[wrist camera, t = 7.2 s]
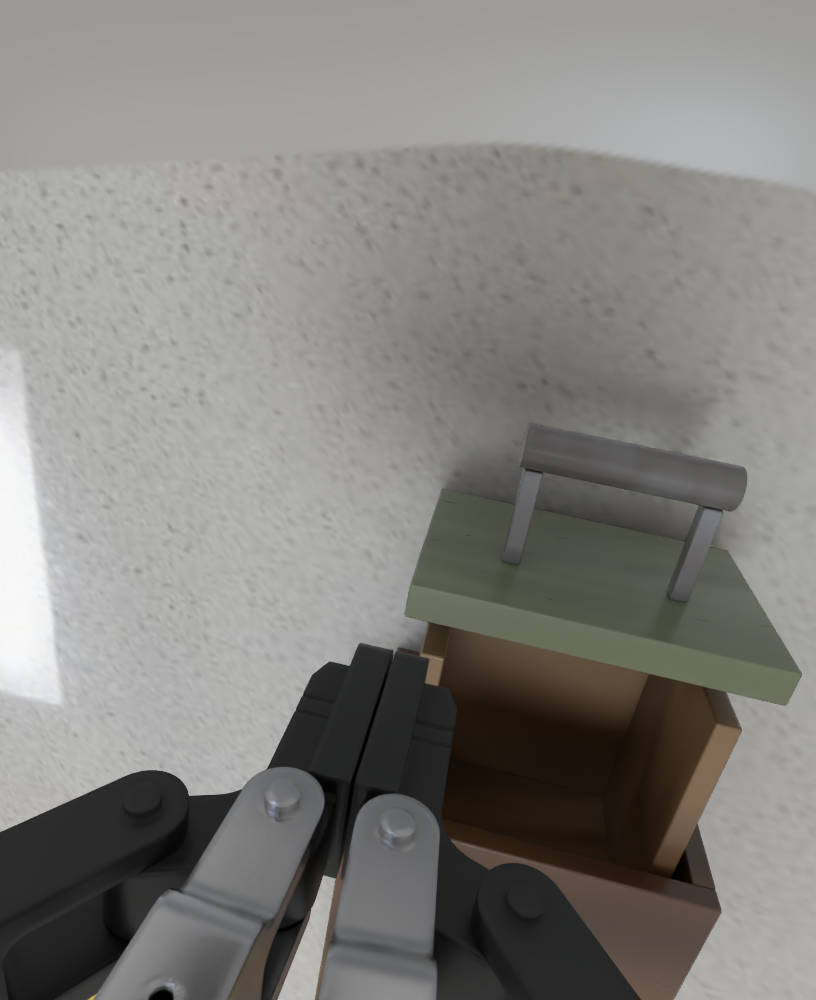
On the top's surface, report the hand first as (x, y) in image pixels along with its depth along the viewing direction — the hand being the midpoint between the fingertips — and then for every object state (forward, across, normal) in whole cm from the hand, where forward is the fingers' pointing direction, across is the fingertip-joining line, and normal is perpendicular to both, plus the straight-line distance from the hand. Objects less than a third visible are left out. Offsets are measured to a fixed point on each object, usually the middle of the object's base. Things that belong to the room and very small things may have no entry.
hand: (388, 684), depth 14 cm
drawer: (+14, -5, +6) cm, 16 cm away
